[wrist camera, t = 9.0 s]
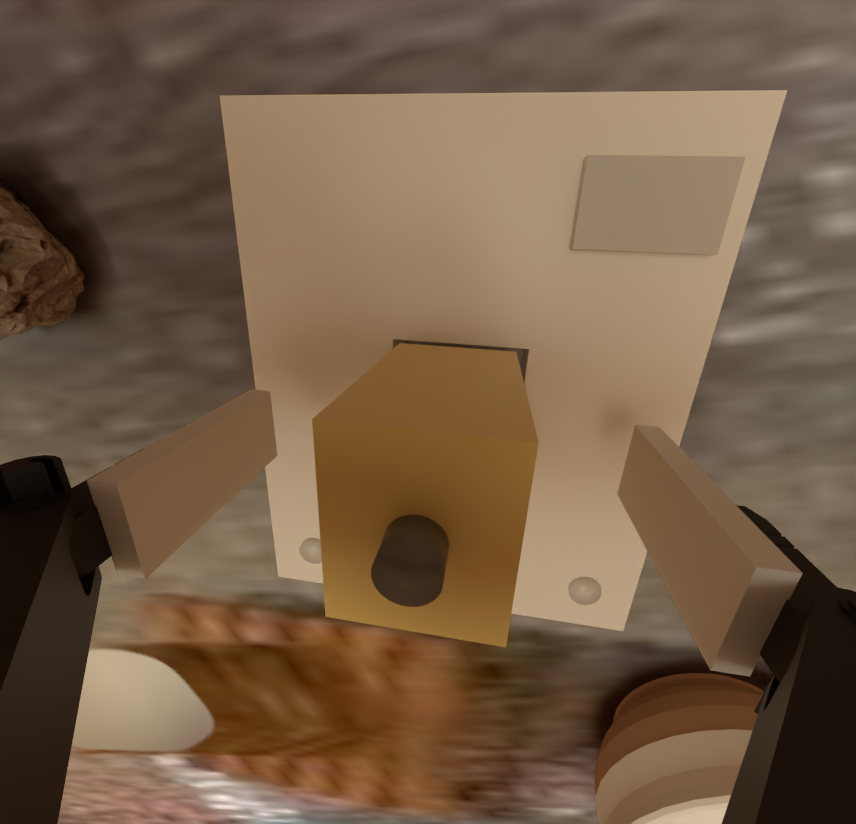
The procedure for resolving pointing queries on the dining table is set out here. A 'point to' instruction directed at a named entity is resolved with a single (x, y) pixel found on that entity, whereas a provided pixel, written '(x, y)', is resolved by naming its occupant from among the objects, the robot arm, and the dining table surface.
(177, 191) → the dining table surface
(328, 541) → the plug
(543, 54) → the dining table surface
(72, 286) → the rock
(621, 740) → the bowl
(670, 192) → the socket plate
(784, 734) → the robot arm
